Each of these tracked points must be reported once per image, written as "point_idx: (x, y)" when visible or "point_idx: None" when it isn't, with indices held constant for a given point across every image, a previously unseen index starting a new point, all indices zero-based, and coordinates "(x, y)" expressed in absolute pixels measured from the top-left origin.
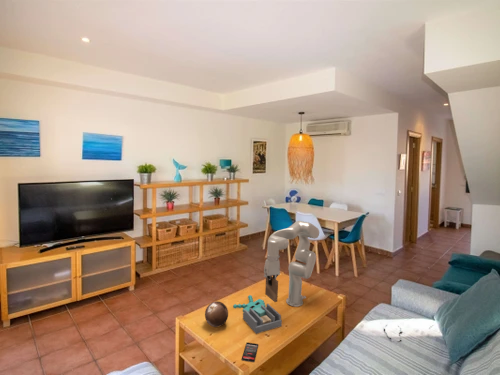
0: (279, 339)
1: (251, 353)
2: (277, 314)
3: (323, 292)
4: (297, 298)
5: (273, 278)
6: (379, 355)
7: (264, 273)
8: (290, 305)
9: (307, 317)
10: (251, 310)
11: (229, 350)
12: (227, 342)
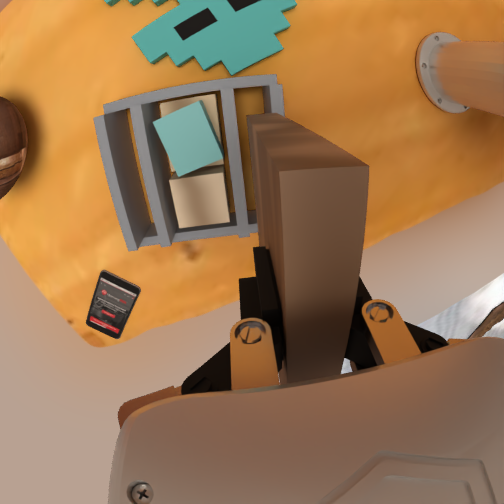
0: (227, 286)
1: (113, 315)
2: None
3: None
4: (468, 105)
5: (324, 374)
6: None
7: (137, 415)
8: (420, 83)
9: (421, 198)
10: (134, 133)
11: (53, 282)
12: (45, 248)
